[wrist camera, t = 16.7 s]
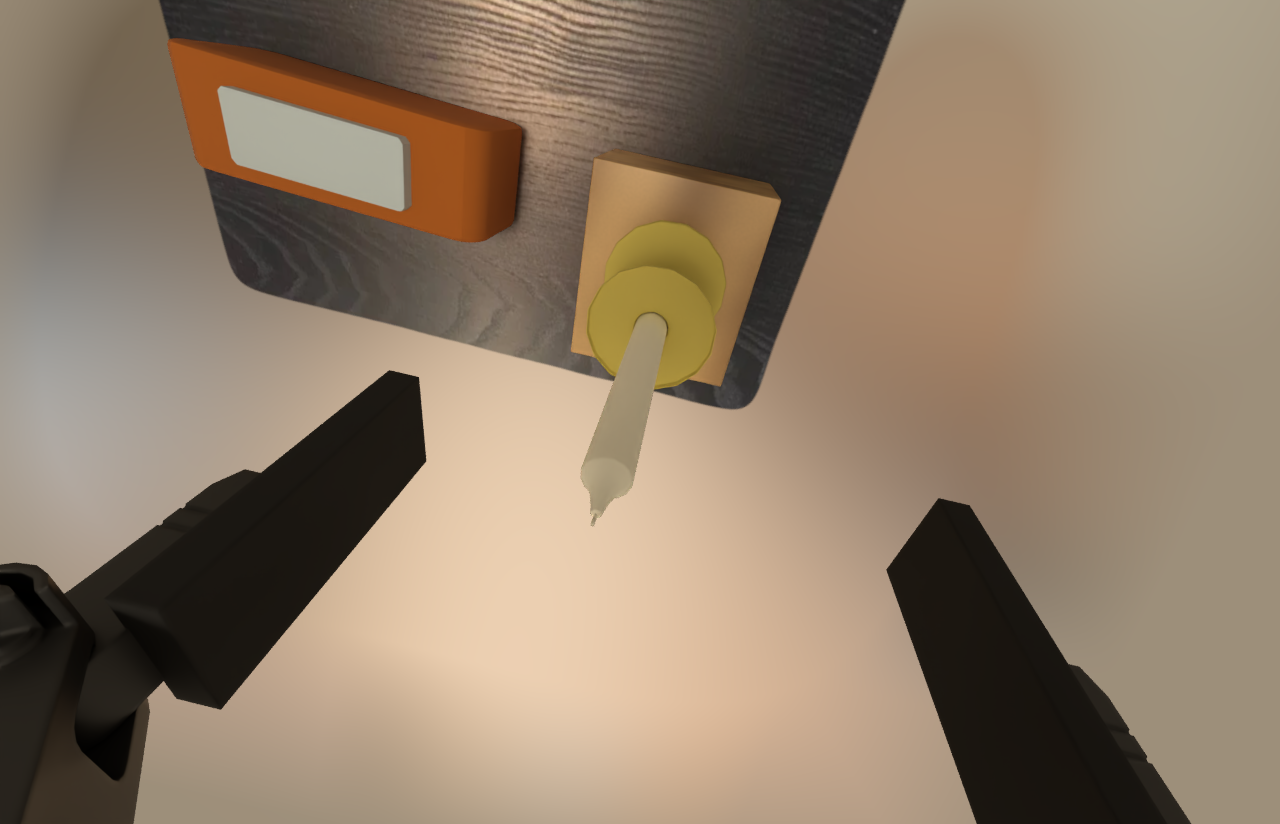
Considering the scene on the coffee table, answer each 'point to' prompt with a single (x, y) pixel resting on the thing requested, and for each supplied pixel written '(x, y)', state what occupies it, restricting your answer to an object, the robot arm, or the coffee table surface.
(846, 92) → the coffee table surface
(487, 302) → the coffee table surface
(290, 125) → the alarm clock
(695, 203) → the lidded tan carton
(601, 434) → the candle
